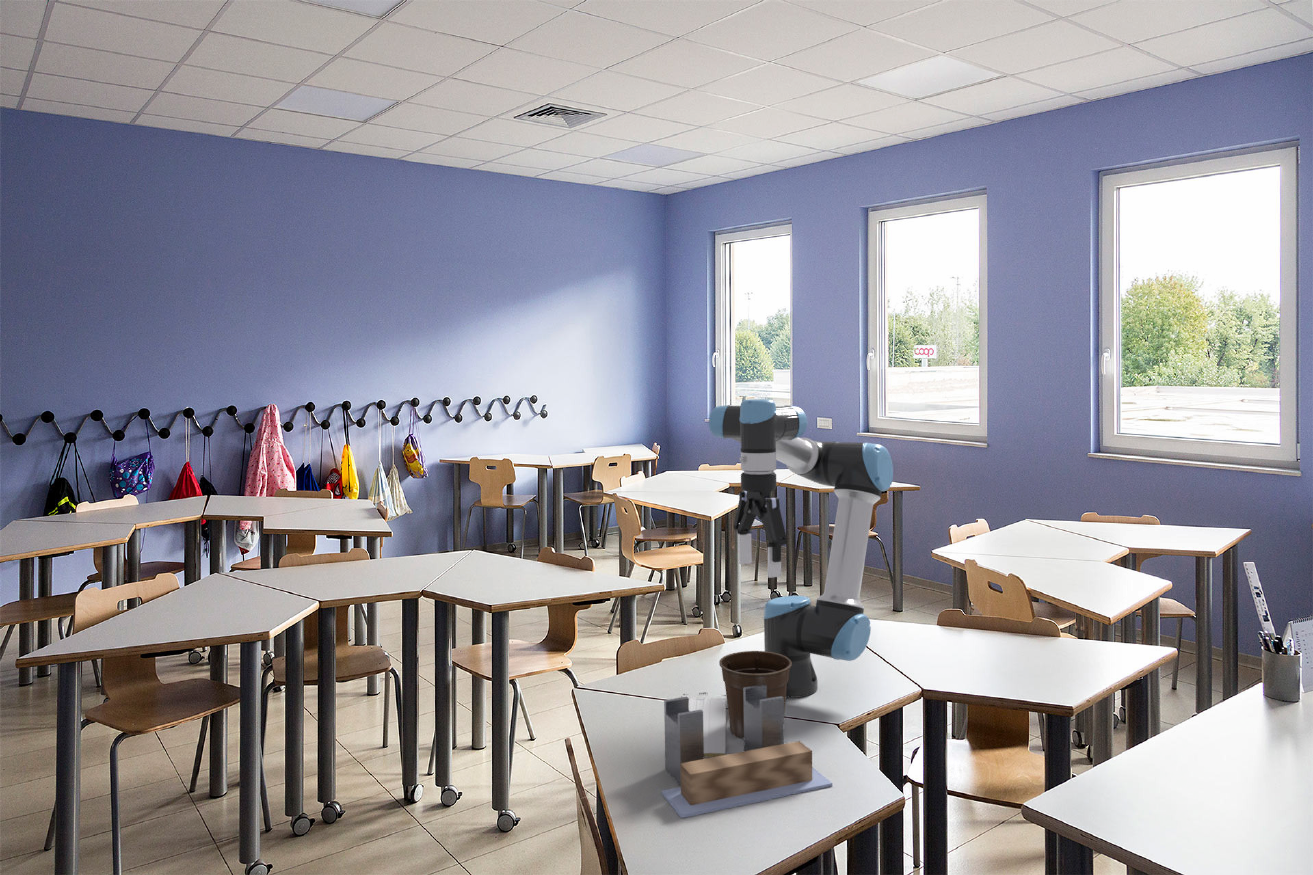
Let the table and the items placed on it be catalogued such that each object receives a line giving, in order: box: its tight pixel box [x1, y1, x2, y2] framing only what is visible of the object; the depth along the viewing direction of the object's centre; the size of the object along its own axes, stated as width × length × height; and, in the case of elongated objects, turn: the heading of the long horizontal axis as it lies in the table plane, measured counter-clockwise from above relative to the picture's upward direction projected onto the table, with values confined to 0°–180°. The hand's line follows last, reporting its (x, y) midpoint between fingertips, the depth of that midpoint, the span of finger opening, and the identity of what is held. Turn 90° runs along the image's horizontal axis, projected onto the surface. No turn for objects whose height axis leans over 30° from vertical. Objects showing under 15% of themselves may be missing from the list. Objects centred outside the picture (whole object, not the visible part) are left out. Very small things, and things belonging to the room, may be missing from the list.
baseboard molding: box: [682, 692, 727, 758], centre depth 202 cm, size 31×3×12 cm
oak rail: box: [680, 740, 813, 805], centre depth 171 cm, size 26×5×6 cm, turn 110°
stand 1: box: [663, 696, 705, 787], centre depth 177 cm, size 5×8×14 cm, turn 20°
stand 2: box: [743, 684, 785, 752], centre depth 184 cm, size 5×8×14 cm, turn 20°
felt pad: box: [661, 766, 833, 819], centre depth 171 cm, size 32×10×1 cm, turn 110°
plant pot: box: [718, 650, 792, 739], centre depth 198 cm, size 16×16×16 cm
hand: (759, 570), depth 189 cm, fingers open, 13 cm apart
